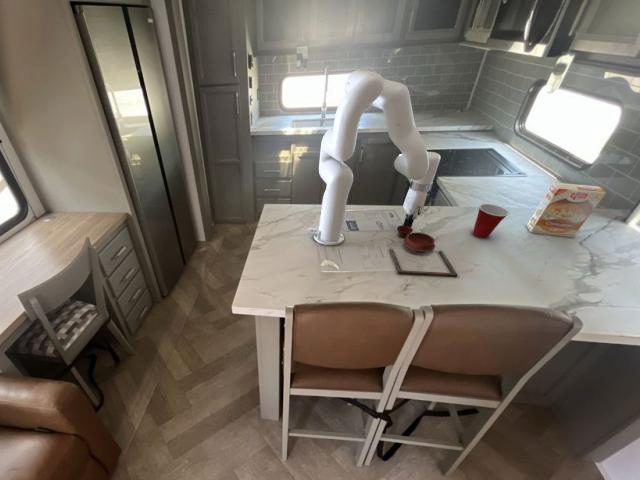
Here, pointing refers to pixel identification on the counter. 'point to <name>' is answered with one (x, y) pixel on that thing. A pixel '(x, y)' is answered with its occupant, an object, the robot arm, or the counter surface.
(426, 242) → the pottery
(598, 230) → the counter surface
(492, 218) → the plastic cup
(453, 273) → the frame
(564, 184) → the coffeecake box
